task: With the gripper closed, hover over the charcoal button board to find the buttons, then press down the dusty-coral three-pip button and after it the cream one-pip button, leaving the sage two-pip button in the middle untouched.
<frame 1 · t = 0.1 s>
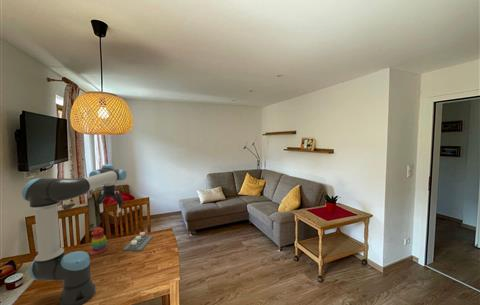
hand: (110, 212, 158), 28 cm above the table, fingers open, 13 cm apart
stacking bear: (99, 250, 155), on the table
button one: (134, 242, 158), point 4 cm above the table, slide at 0.0 cm
button two: (138, 238, 164), point 4 cm above the table, slide at 0.0 cm
board: (138, 243, 165), on the table
button three: (142, 234, 171), point 5 cm above the table, slide at 0.0 cm
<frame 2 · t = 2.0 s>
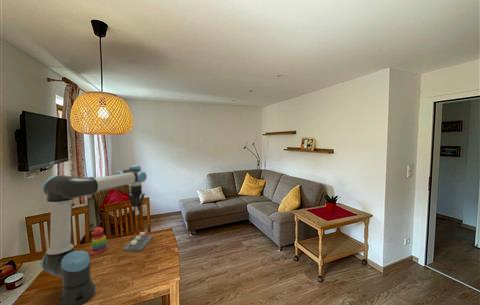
hand: (137, 214, 163), 24 cm above the table, fingers closed
nothing on the table moved.
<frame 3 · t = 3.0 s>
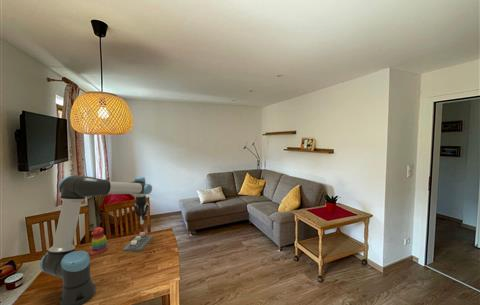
hand: (142, 223, 170), 14 cm above the table, fingers closed
nothing on the table moved.
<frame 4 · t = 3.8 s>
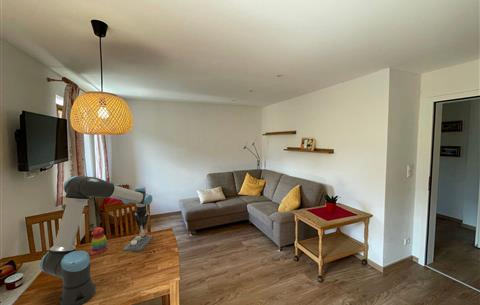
hand: (142, 232, 171), 6 cm above the table, fingers closed
button three: (142, 235, 171), point 4 cm above the table, slide at 0.5 cm, touching gripper
everything else where it was.
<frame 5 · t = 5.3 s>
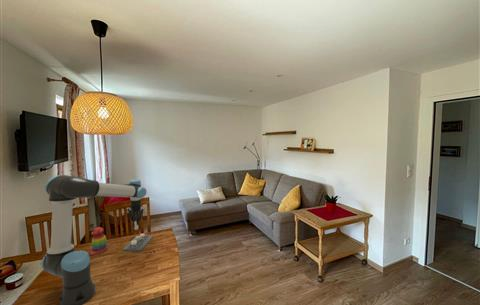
hand: (136, 228, 162), 13 cm above the table, fingers closed
button three: (142, 236, 171), point 3 cm above the table, slide at 1.4 cm
everything else where it was.
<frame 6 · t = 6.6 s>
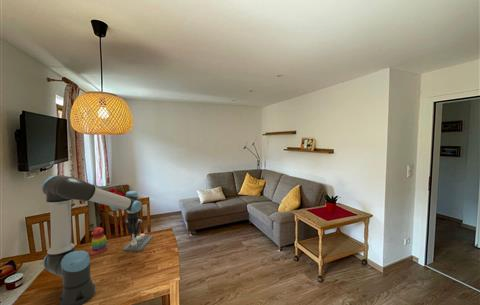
hand: (134, 241, 158), 6 cm above the table, fingers closed
button one: (134, 243, 158), point 4 cm above the table, slide at 0.8 cm, touching gripper
everything else where it was.
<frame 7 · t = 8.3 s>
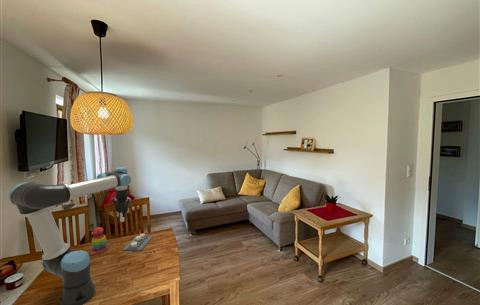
hand: (122, 221, 149), 25 cm above the table, fingers closed
button one: (134, 244, 158), point 3 cm above the table, slide at 1.4 cm
everything else where it was.
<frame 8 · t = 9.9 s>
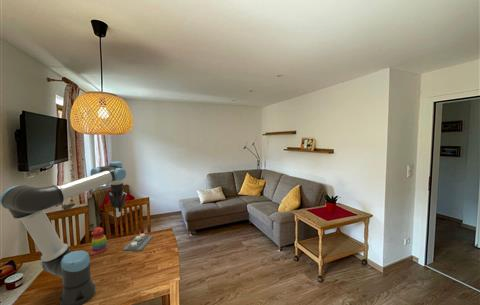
hand: (118, 216, 146), 29 cm above the table, fingers closed
nothing on the table moved.
at the end: button three slide at 1.4 cm; button one slide at 1.4 cm; button two slide at 0.0 cm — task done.
